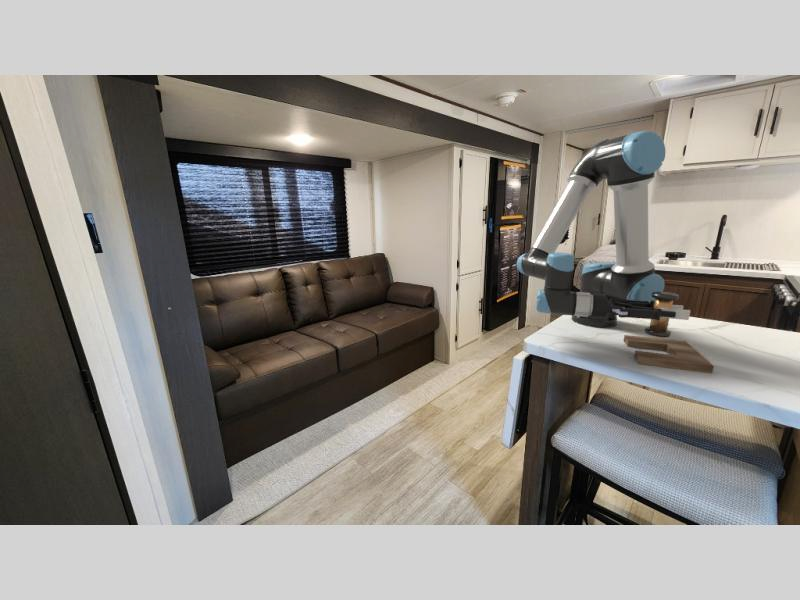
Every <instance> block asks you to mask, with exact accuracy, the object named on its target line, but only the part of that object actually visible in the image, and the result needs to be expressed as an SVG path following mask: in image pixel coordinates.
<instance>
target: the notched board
mask: <svg viewBox="0 0 800 600" xmlns="http://www.w3.org/2000/svg"><path fill="white" fill-rule="evenodd" d="M623 342H624V344H625V345H626V347H629V348H630V347H631V348H641V349H648V350H649V349H650V350H657V351H666V352H667V353H660V352H653V351H644V350H643V351H642V350H634V357H633V358H634V359H635V360H636V361H637V363H638V364H639V365H645V366H653V367H659V368H660V367H661V368H668V369H677V370H685V371H693V372H698V373H699V372H700V373H707V374H713V371H714V367H715V366H714V365H713V363H711V362H710V361H709V360H708V359H707V358H705V357H704V356H703V355H702V354H701V353H699V351H698V350H696V349H695V348H694V347H693V346H692V345H691V344H689V343H688V342H687V341H686V340H681V339H671V338H670V339H669V338H662V337H651V336H650V337H649V336H648V337H647V336H640V335H639V336H638V335H629V334H628V335H627V334H624V336H623Z"/></svg>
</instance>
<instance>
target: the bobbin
mask: <svg viewBox="0 0 800 600" xmlns="http://www.w3.org/2000/svg"><path fill="white" fill-rule="evenodd" d="M651 296H652V297H654V298H655V302H654V307H653V308H657V309H660V308H670V309H672V305H674V304H673V303H674V301H678V300H679V297H680V294H677V293H675V292H670V291H669V292H668V291H667V292H666V291H663V292H652V295H651ZM669 322H670V318H660V320H659V321H657V320H655V319H650V323H649V326H646V327H645V328H644V333H645V334H647V335H649V336H653V337H655V338H670V337H671V334H672V331H670V330H668V326H669Z"/></svg>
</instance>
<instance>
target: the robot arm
mask: <svg viewBox="0 0 800 600" xmlns="http://www.w3.org/2000/svg"><path fill="white" fill-rule="evenodd" d="M666 153H667V151H666V146H665V142H664V140H663V138H662V137H661V136H660V135H658V134H657V133H656V132H655V131H652V130H642V131H636V132H631V133H628V134H625V135H620V136H618V137H613V138H610V139H605V140H601V141H599V142H597V143H596V144H595V145H593V146H591V148H589V149H588V150H587V151H586V152H585V153H584V154H583V155H582V156H581V158H580V159H579V160H578V161H577V163H576V164H575V165H574V166H573V169H572V170H571V172H570V173H569V175H568V176H567V179H566V182H567V184H566V186H565V188H564V190H563V191H562V193H561V195H560V197H559V199H558V200H557V201H556V203H555V205H554V207H553V209H552V210H551V213H550V214H549V216H548V218H547V220H546V221H545V223H544V225H543V227H542V228H541V229H540V232H539V233H538V235H537V237H536V238H535V240H534V242H533V244H532V246H531V247H530V249H529V251H528V253H523V254H522V255H520V256H518V258H517V261H516V268H517V269H516V270H517V271H519V272H520V273H521V274H523V275H525V276H527V277H533V278H537V279H539V280H541V281H544V287H543V289H538V290H537V293H536V304H535V310H536V311H537V312H538V313H542V314H550V315H561V316H562V315H564V316H571V320H572V321H573V322H574V321H575V322H574V323H576V322H577V324H579V325H582V326H586V327H591V328H602V329H603V328H605V329H606V328H612V327H613V328H614V327H616V326H617V324H618V317H619V318H633V319H644V320H651V319H655V320H657V321H659V320H660V318H669V320H671V319H673V320H682V321H683V320H684V321H689V320H690V319H689V318H690V315H691V309H684V305H682V304H681V305H679V304H672V309H670V308H660V309H657V308H653V307H654V302H655V298H654V297H652V296H651V295H652V292H664V288H665V279H664V278H663V277H662V276H661V275H660V274H657V273H655V270H656V269H655V264H654V263H653V262H652V261H650V260H649V184H650V183H651V182H652V181H653V180H654V178H655V172H657V171H658V170H659V169H660V168H661V166H662V165H663V162H664V161H665V158H666ZM604 180H606V181H607V187H608V188H609V189H611V190H612V191H613V210H614V213H613V214H614V233H615V235H614V236H615V261H616V262H592V263H586V264H585V265H583V268H582V273H581V277H580V289H579V291H571V288H572V281H573V274H574V269H575V266H574V265H575V256H574V255H573V254H572V253H570V252H569V253H568V252H556V250H557V249H558V247H559V246H560V244H561V242H562V241H563V239H564V237H565V235H566V234H567V232H568V230H569V229H570V227H571V225H572V223H573V222H574V220H575V218H576V217H577V215H578V213H579V211H580V209H581V208H582V206H583V204H584V203H585V201H587V200H586V199H587V198H588V196H589V194H590V193H591V192H593V191H595V190H596V189H597V187H598V185H599V184H600V183H601V182H602V181H604ZM617 316H618V317H617Z"/></svg>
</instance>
